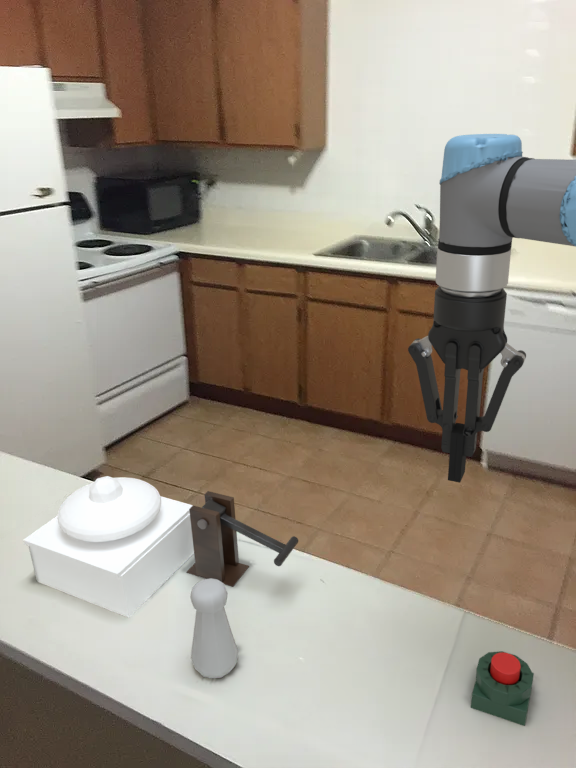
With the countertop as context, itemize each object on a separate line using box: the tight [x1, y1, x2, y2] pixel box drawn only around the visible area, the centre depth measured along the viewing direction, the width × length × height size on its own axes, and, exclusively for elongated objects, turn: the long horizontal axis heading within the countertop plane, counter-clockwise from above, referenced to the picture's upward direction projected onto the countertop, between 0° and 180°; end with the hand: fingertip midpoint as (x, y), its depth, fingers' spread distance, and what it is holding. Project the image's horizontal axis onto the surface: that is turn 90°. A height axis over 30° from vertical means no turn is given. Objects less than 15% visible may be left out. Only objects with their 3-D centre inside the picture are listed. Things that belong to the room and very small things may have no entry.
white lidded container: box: [22, 475, 194, 619], centre depth 99 cm, size 18×18×16 cm
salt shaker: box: [190, 578, 239, 679], centre depth 81 cm, size 6×6×13 cm
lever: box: [201, 500, 299, 567], centre depth 94 cm, size 14×6×2 cm, turn 65°
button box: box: [470, 650, 535, 727], centre depth 78 cm, size 6×6×4 cm
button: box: [490, 651, 521, 685], centre depth 77 cm, size 3×3×2 cm
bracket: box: [186, 490, 250, 588], centre depth 97 cm, size 8×6×13 cm
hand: (456, 475), depth 81 cm, fingers closed
